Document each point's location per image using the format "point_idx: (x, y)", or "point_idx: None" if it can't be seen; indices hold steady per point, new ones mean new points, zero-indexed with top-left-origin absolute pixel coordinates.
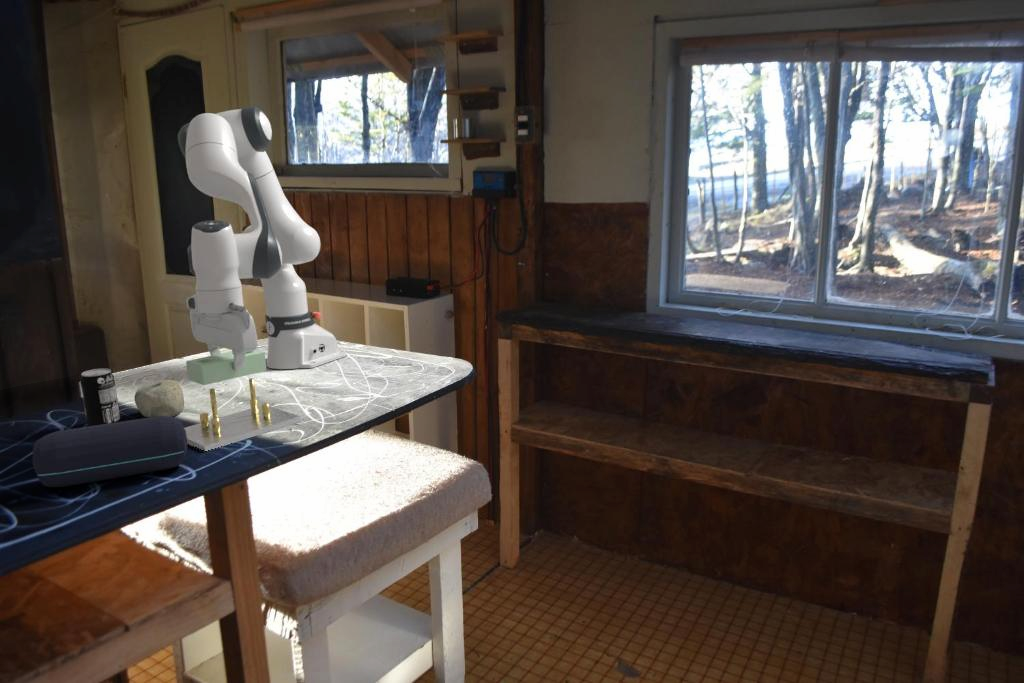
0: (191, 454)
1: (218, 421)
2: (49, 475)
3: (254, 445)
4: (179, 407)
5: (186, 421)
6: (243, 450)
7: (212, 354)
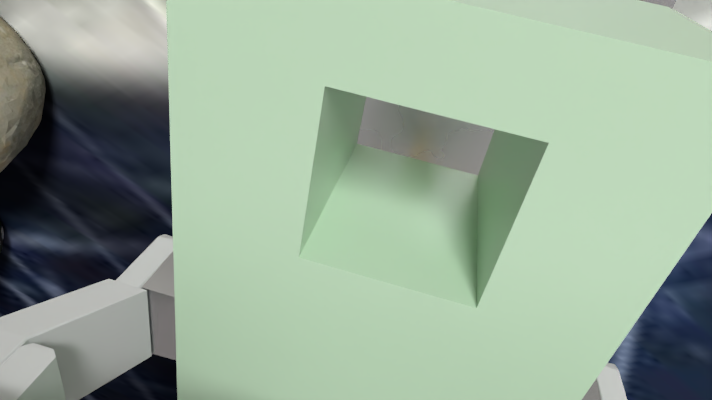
0: None
1: None
2: None
3: None
4: (13, 58)
5: (142, 97)
6: None
7: (127, 367)
